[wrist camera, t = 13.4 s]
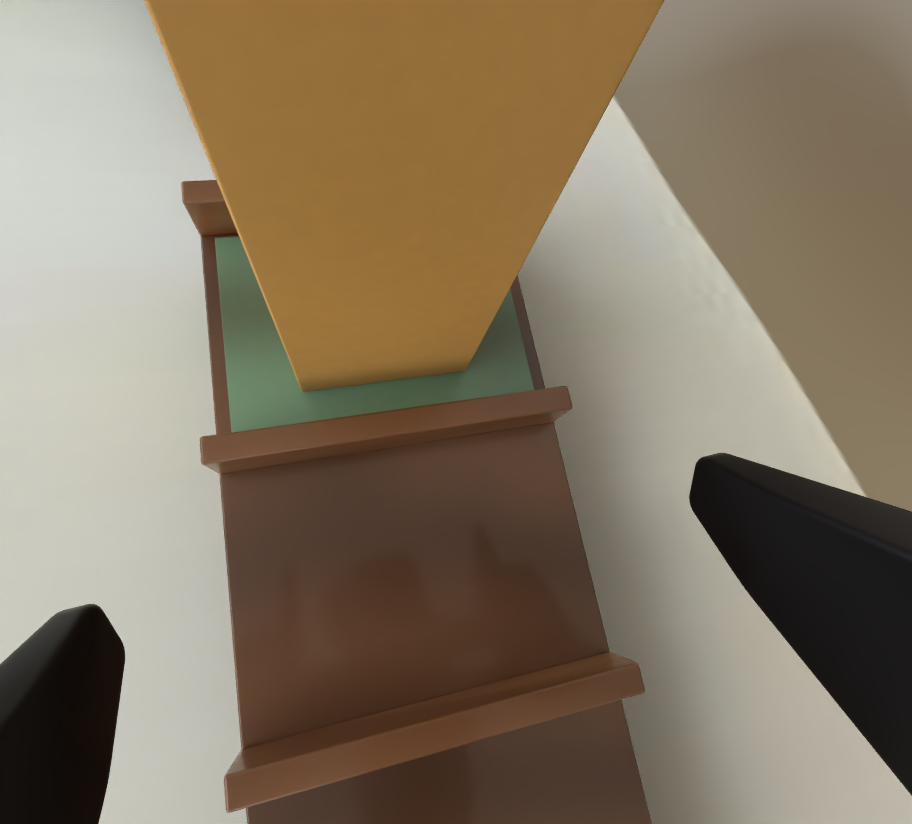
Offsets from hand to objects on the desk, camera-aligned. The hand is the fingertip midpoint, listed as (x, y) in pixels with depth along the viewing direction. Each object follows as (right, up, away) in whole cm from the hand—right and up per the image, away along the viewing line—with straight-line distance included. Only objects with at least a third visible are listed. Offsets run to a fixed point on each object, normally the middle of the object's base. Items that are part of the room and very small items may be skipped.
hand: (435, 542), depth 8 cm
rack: (-1, -4, +11) cm, 12 cm away
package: (-2, +5, +10) cm, 11 cm away
